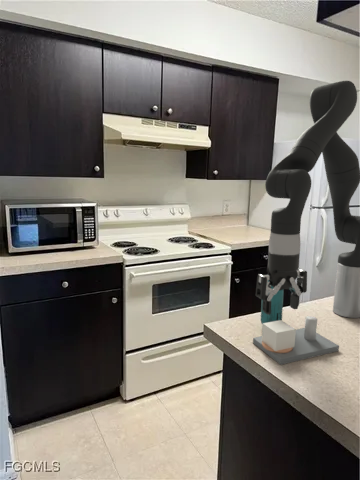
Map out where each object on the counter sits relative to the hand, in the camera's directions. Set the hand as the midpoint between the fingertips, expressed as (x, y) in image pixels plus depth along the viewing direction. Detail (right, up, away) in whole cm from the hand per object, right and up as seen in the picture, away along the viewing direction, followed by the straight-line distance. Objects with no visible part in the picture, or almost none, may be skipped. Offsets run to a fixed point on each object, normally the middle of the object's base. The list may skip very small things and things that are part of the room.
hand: (280, 310), depth 89 cm
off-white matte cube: (0, -9, +2) cm, 9 cm away
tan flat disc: (0, -10, +2) cm, 10 cm away
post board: (+5, -11, +4) cm, 13 cm away
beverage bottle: (+2, -9, +16) cm, 18 cm away
